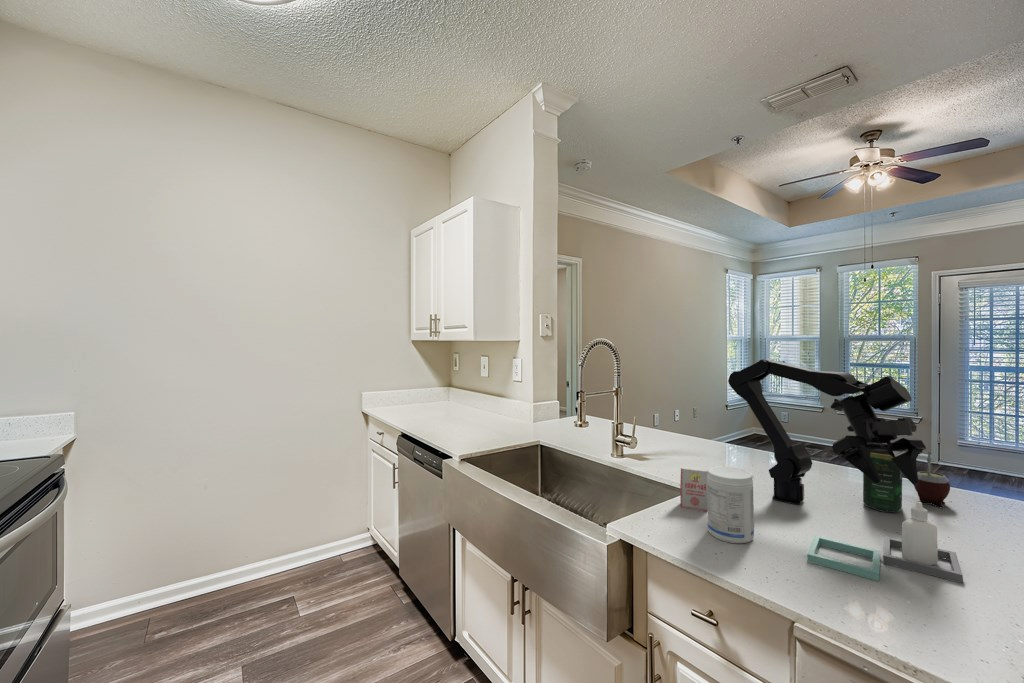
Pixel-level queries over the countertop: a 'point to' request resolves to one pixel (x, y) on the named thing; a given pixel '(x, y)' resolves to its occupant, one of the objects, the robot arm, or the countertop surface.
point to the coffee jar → (883, 484)
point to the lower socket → (842, 565)
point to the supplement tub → (730, 504)
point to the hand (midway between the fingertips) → (897, 483)
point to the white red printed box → (693, 489)
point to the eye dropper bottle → (919, 537)
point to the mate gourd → (932, 486)
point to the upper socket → (921, 567)
